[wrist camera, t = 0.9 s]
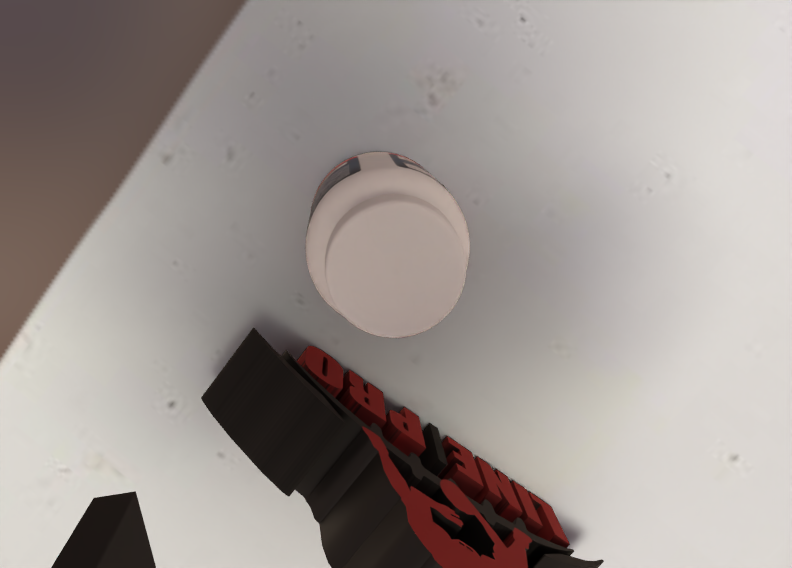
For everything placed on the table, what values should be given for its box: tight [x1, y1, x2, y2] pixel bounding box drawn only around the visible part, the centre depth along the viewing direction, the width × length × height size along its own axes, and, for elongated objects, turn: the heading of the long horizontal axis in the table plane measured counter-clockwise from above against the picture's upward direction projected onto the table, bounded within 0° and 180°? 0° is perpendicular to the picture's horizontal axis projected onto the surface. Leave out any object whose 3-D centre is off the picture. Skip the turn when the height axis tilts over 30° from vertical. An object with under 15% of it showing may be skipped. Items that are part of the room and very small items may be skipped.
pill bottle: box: [305, 152, 470, 338], centre depth 24 cm, size 5×5×9 cm
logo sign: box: [202, 328, 604, 568], centre depth 26 cm, size 18×4×11 cm, turn 53°
